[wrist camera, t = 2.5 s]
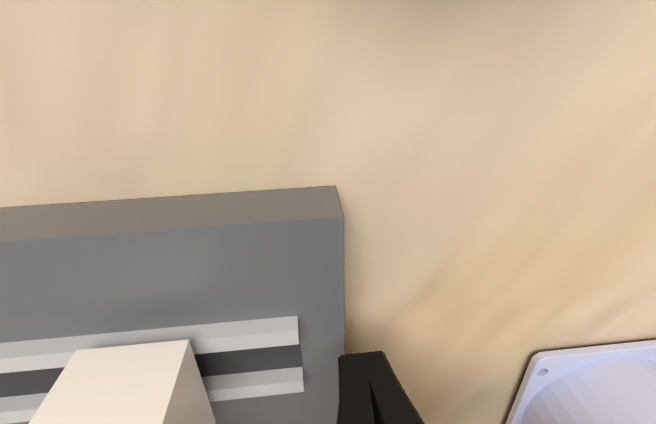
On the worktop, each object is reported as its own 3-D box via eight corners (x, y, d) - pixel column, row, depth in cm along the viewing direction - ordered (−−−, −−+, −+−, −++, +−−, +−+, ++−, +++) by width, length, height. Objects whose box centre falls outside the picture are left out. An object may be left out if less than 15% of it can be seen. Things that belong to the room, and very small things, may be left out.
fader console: (339, 382, 16) (347, 441, 14) (-132, 431, 15) (-210, 507, 12) (335, 185, 11) (347, 228, 9) (-375, 232, 10) (-580, 297, 7)
